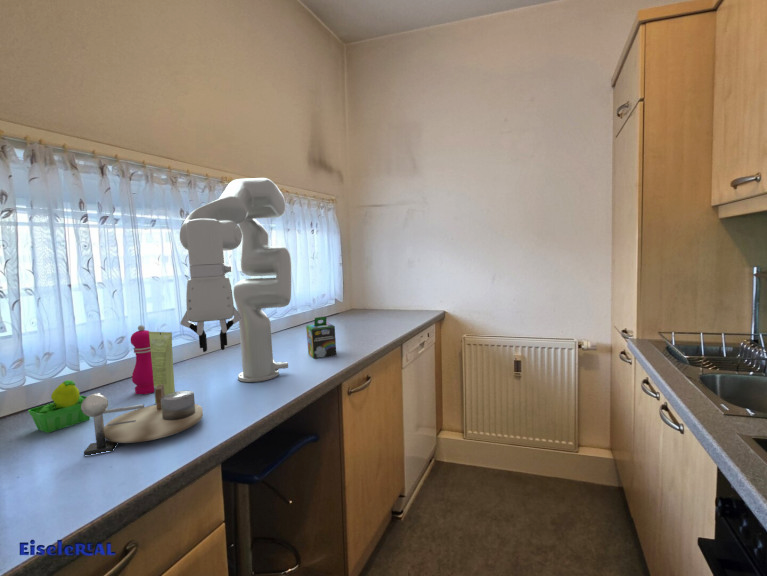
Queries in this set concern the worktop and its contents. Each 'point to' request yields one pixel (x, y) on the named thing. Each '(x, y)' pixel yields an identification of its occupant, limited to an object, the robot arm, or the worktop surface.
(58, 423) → the fruit basket
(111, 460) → the worktop surface
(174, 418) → the cover
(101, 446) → the knob-topped metal post
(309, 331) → the chalk box
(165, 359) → the tube
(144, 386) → the pepper mill
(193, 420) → the turntable
